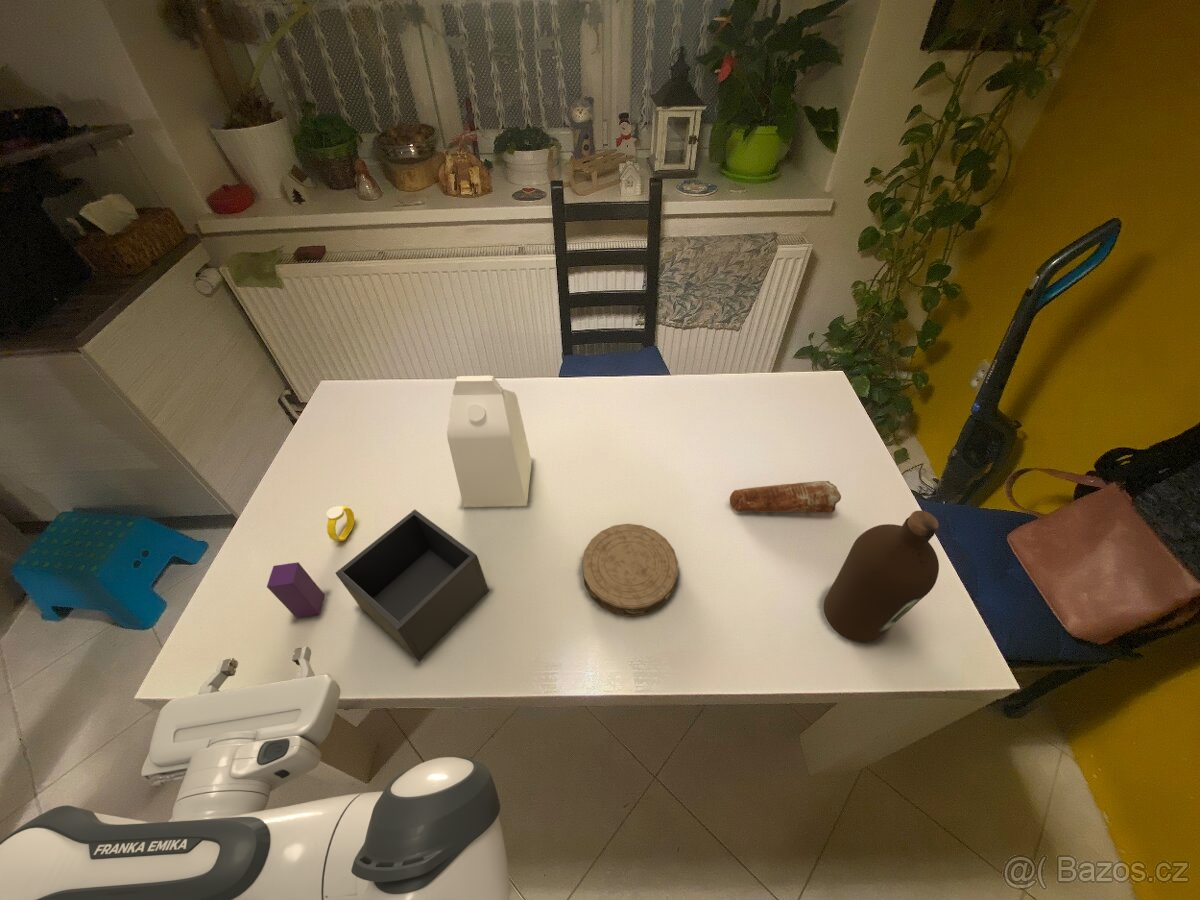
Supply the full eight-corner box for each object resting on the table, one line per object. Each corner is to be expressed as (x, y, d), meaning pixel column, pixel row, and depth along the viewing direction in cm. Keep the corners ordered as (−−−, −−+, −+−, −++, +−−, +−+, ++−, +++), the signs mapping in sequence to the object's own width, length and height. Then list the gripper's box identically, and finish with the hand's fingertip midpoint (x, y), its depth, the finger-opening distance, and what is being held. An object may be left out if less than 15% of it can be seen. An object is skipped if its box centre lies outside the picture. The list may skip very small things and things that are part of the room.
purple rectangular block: (320, 614, 81) (292, 583, 74) (296, 618, 81) (266, 586, 74) (324, 594, 84) (298, 562, 77) (301, 598, 83) (273, 565, 76)
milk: (531, 461, 104) (515, 356, 86) (526, 505, 96) (507, 400, 78) (473, 462, 104) (444, 358, 86) (463, 507, 96) (429, 402, 78)
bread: (834, 519, 93) (844, 500, 89) (730, 517, 94) (736, 499, 90) (824, 492, 98) (834, 473, 94) (725, 491, 98) (730, 472, 94)
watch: (346, 547, 90) (333, 527, 86) (331, 545, 91) (317, 526, 86) (361, 520, 94) (349, 500, 90) (347, 518, 95) (335, 498, 90)
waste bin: (418, 661, 76) (397, 630, 68) (360, 607, 82) (334, 572, 74) (489, 590, 84) (477, 555, 76) (431, 546, 90) (414, 509, 83)
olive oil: (806, 615, 80) (864, 521, 63) (837, 572, 86) (899, 474, 68) (872, 662, 75) (955, 574, 57) (901, 613, 81) (985, 519, 63)
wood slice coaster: (563, 582, 85) (562, 572, 83) (617, 519, 94) (617, 509, 92) (643, 635, 78) (644, 627, 76) (693, 562, 87) (695, 553, 85)
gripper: (152, 795, 60) (198, 676, 70) (333, 762, 62) (352, 652, 72) (115, 782, 55) (169, 657, 65) (311, 748, 58) (335, 632, 67)
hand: (267, 654), depth 68 cm, fingers open, 8 cm apart
